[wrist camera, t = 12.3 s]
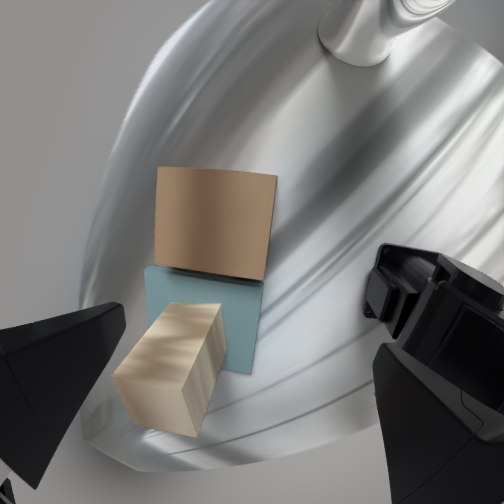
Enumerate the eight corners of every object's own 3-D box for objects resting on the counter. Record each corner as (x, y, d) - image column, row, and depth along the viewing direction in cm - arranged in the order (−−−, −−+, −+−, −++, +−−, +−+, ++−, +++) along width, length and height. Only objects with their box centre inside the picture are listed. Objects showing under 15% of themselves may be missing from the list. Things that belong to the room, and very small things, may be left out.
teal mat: (263, 283, 22) (262, 288, 21) (251, 367, 24) (250, 373, 23) (149, 265, 23) (144, 269, 22) (154, 347, 25) (151, 352, 24)
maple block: (221, 303, 22) (181, 389, 12) (227, 348, 23) (197, 437, 13) (170, 302, 22) (110, 376, 13) (179, 345, 23) (134, 424, 14)
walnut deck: (277, 175, 19) (276, 176, 16) (266, 265, 21) (263, 280, 18) (174, 166, 20) (158, 166, 17) (170, 252, 22) (154, 263, 19)
